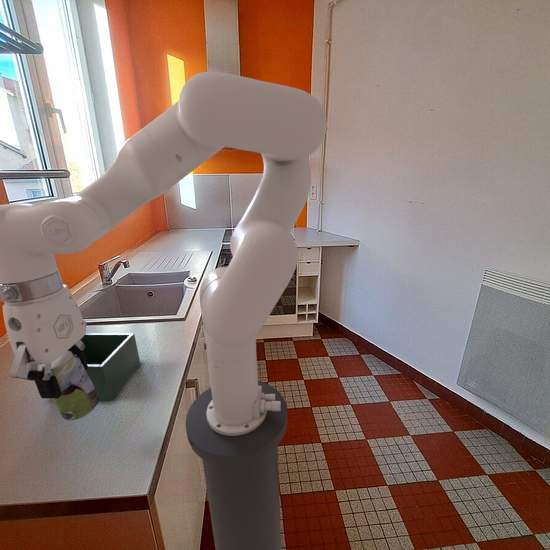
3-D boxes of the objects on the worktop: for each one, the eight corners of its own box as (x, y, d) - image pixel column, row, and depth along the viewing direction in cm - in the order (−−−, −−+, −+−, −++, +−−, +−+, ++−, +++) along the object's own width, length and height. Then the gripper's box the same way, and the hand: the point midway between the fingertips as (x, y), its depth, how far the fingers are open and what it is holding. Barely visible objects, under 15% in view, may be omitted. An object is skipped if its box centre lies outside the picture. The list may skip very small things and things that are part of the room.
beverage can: (108, 404, 56) (93, 347, 53) (68, 433, 50) (48, 371, 47) (87, 396, 59) (71, 342, 56) (46, 423, 53) (26, 363, 49)
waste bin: (140, 363, 84) (134, 333, 81) (111, 400, 70) (102, 366, 67) (90, 362, 85) (82, 333, 82) (51, 400, 71) (39, 366, 68)
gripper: (5, 311, 38) (49, 422, 44) (91, 268, 54) (114, 353, 60) (-50, 313, 38) (1, 422, 44) (51, 269, 54) (78, 354, 61)
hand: (66, 382), depth 52 cm, fingers closed on beverage can, 6 cm apart
